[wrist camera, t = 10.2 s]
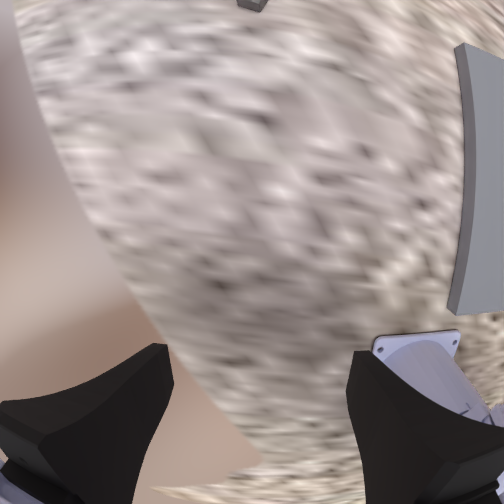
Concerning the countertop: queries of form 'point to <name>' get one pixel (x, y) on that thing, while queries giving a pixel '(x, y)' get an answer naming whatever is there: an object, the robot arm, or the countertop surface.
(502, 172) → the board
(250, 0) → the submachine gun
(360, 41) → the countertop surface
